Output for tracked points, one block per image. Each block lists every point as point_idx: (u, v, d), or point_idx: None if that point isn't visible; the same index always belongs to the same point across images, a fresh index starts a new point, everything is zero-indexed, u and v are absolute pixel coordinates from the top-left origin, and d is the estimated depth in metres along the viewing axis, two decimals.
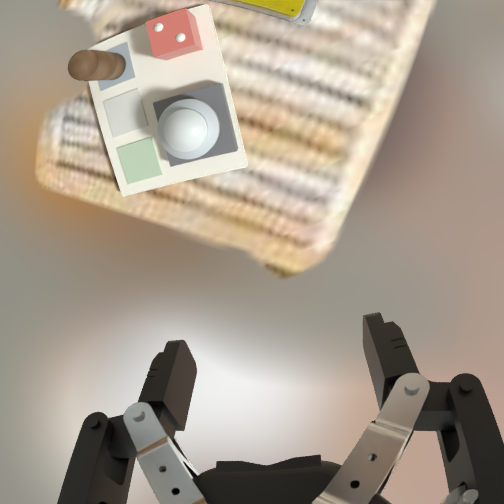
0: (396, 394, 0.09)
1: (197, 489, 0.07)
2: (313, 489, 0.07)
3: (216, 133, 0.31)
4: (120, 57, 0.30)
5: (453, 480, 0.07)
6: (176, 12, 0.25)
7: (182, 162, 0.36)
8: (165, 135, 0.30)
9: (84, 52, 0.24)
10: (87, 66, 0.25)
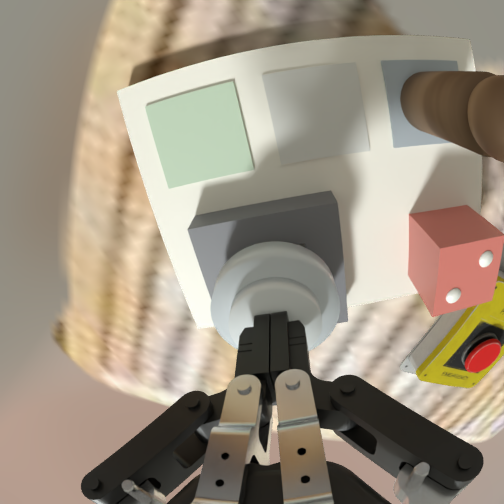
0: (275, 387, 0.10)
1: (239, 493, 0.07)
2: None
3: None
4: None
5: (389, 465, 0.08)
6: (493, 287, 0.15)
7: (198, 254, 0.18)
8: (268, 293, 0.14)
9: None
10: None
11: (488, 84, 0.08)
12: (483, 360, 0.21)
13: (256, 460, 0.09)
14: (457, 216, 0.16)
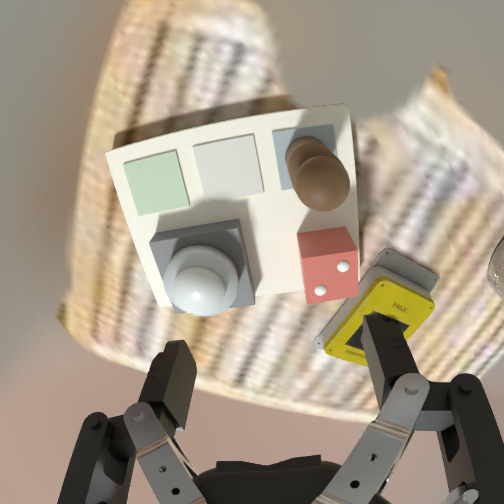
0: (396, 394, 0.09)
1: (197, 489, 0.07)
2: (313, 489, 0.07)
3: (195, 314, 0.29)
4: None
5: (453, 480, 0.07)
6: (356, 286, 0.26)
7: (155, 257, 0.28)
8: (191, 273, 0.25)
9: (343, 201, 0.19)
10: (316, 207, 0.19)
11: (303, 166, 0.18)
12: None
13: (187, 466, 0.09)
14: (330, 235, 0.27)
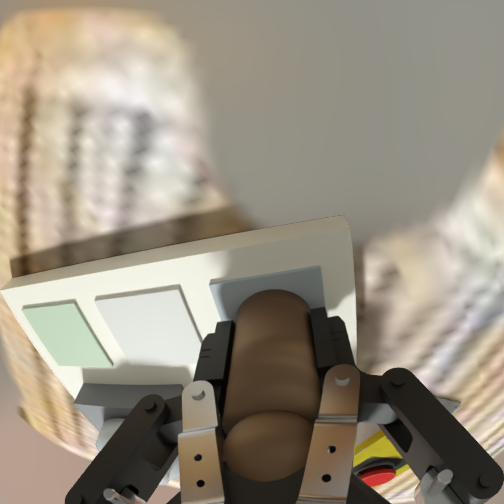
0: (325, 383, 0.10)
1: (222, 488, 0.07)
2: None
3: None
4: None
5: (418, 467, 0.08)
6: None
7: (86, 416, 0.19)
8: None
9: None
10: None
11: (231, 449, 0.08)
12: (374, 481, 0.22)
13: None
14: None
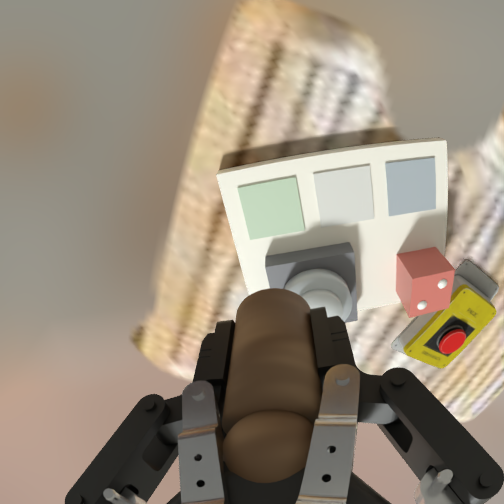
0: (325, 383, 0.10)
1: (222, 488, 0.07)
2: None
3: None
4: None
5: (418, 467, 0.08)
6: (448, 300, 0.27)
7: (270, 281, 0.29)
8: (317, 297, 0.26)
9: None
10: None
11: (231, 448, 0.08)
12: (452, 344, 0.32)
13: None
14: (427, 256, 0.28)
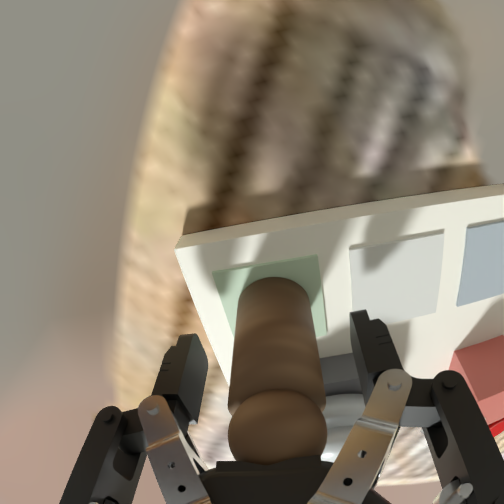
0: (378, 389, 0.09)
1: (203, 488, 0.07)
2: (313, 489, 0.07)
3: None
4: None
5: (445, 475, 0.07)
6: None
7: None
8: (341, 443, 0.15)
9: None
10: None
11: (238, 426, 0.09)
12: (495, 431, 0.20)
13: (197, 463, 0.09)
14: (494, 353, 0.16)
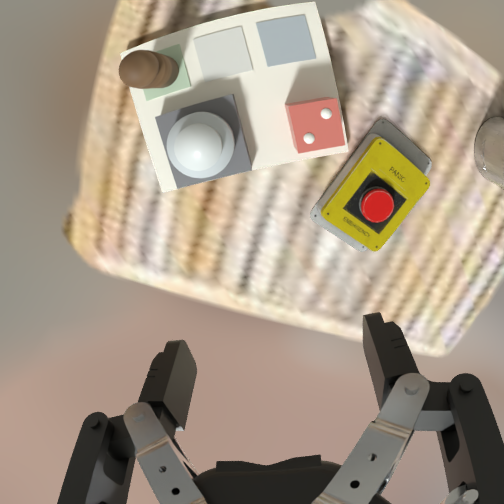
0: (396, 394, 0.09)
1: (197, 489, 0.07)
2: (313, 489, 0.07)
3: (196, 176, 0.30)
4: (168, 84, 0.28)
5: (453, 480, 0.07)
6: (341, 134, 0.27)
7: (160, 130, 0.30)
8: (191, 126, 0.27)
9: (150, 73, 0.22)
10: (130, 82, 0.22)
11: None
12: (377, 208, 0.33)
13: (187, 467, 0.09)
14: (313, 99, 0.29)
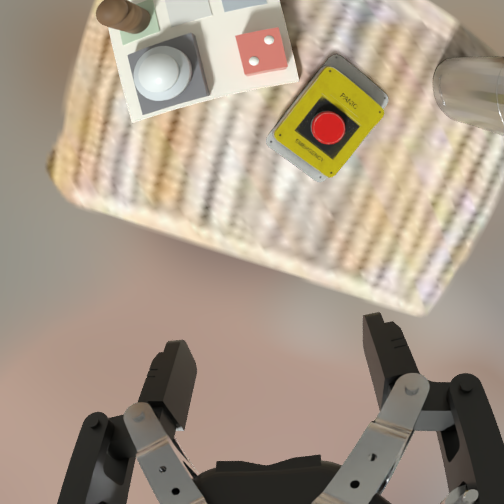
0: (396, 394, 0.09)
1: (197, 489, 0.07)
2: (313, 489, 0.07)
3: (156, 99, 0.31)
4: (141, 29, 0.29)
5: (453, 480, 0.07)
6: (283, 57, 0.28)
7: (131, 65, 0.31)
8: (153, 55, 0.28)
9: (119, 12, 0.23)
10: (103, 20, 0.23)
11: None
12: (328, 130, 0.34)
13: (187, 467, 0.09)
14: None
